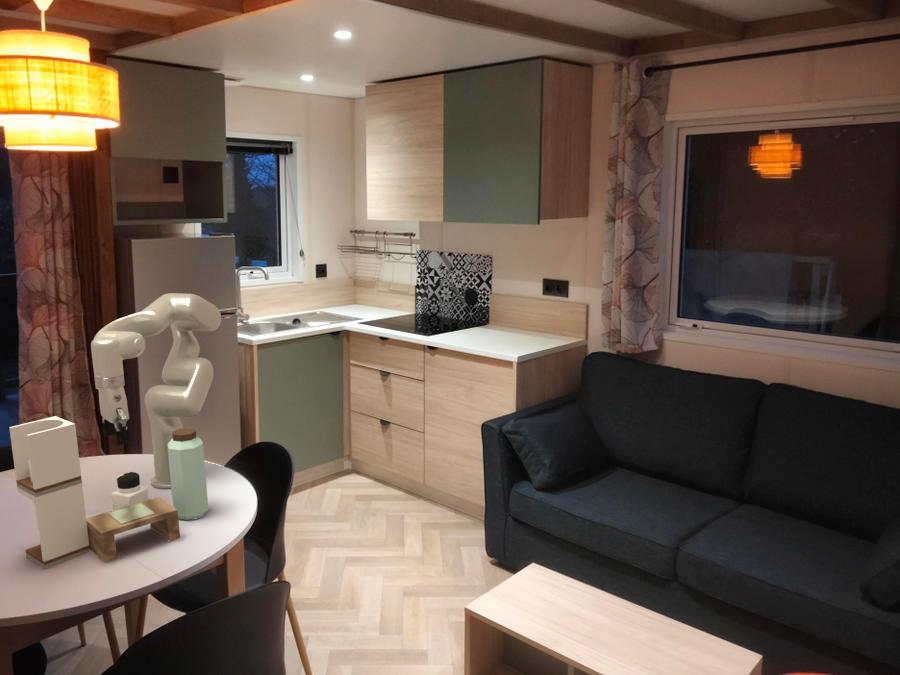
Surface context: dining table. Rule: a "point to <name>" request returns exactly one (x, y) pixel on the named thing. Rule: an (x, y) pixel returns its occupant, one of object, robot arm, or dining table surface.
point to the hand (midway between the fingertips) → (116, 439)
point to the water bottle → (187, 474)
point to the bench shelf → (130, 525)
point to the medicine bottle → (128, 491)
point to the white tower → (52, 488)
